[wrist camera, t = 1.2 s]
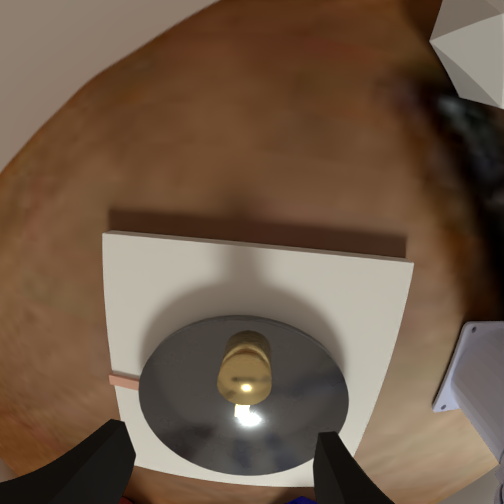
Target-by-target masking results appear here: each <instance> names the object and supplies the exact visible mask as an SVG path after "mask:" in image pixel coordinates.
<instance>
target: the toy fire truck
mask: <svg viewBox="0 0 504 504" xmlns="http://www.w3.org/2000/svg"><path fill="white" fill-rule="evenodd" d="M119 504H133V503H132V502H131V501H129V500H128V499H127V498H125V497H121V499H120V501H119Z"/></svg>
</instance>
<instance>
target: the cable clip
mask: <svg viewBox="0 0 504 504" xmlns="http://www.w3.org/2000/svg"><path fill="white" fill-rule="evenodd" d="M286 504H317V502H315V501H312V500H310V499H307V498H305V497H303V496H301V497H299V498H297V499H294V500H292V501H290V502H288V503H286Z"/></svg>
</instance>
